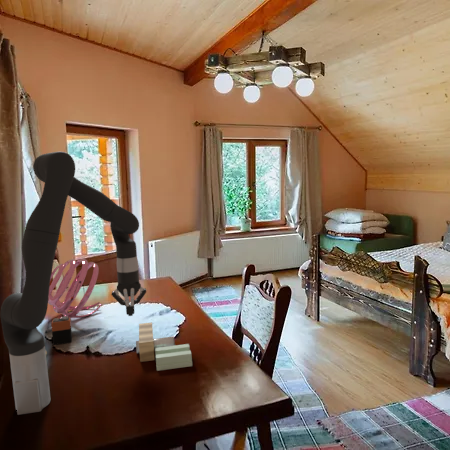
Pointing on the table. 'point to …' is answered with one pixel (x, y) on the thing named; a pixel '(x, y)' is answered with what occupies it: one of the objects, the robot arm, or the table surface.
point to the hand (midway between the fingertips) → (130, 315)
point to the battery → (61, 330)
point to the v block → (173, 357)
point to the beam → (146, 342)
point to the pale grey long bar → (159, 343)
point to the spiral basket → (72, 288)
